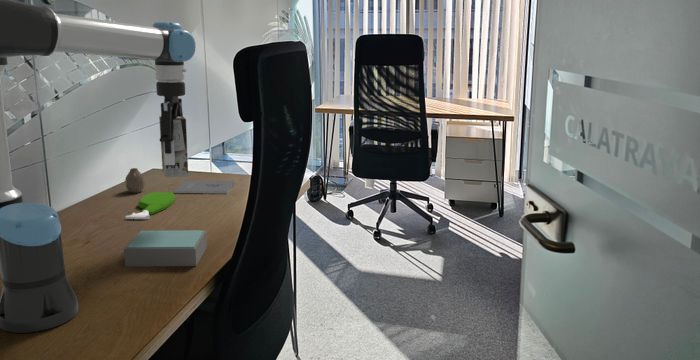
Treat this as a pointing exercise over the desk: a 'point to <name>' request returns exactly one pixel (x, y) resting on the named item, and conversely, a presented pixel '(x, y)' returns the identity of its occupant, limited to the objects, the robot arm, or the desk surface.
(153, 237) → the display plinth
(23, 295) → the robot arm
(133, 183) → the vase
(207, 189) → the play button award
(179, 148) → the coffee box
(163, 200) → the spray bottle
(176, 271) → the desk surface
